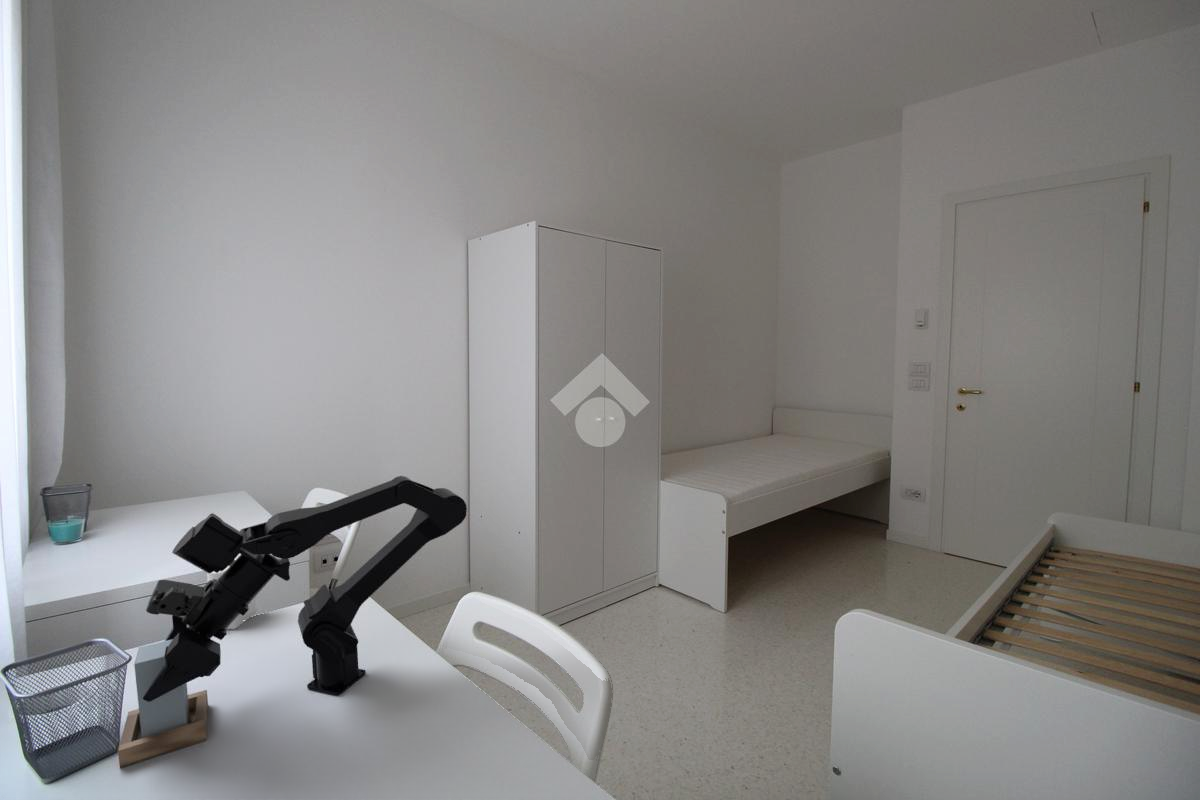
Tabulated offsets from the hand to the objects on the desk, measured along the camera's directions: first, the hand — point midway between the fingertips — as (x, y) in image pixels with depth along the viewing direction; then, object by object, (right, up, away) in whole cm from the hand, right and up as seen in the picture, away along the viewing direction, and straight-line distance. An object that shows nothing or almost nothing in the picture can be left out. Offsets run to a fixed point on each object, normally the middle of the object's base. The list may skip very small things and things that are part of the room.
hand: (149, 682), depth 80 cm
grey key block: (+1, -8, +2) cm, 8 cm away
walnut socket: (+1, -8, +2) cm, 8 cm away
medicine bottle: (-11, -5, +34) cm, 37 cm away
